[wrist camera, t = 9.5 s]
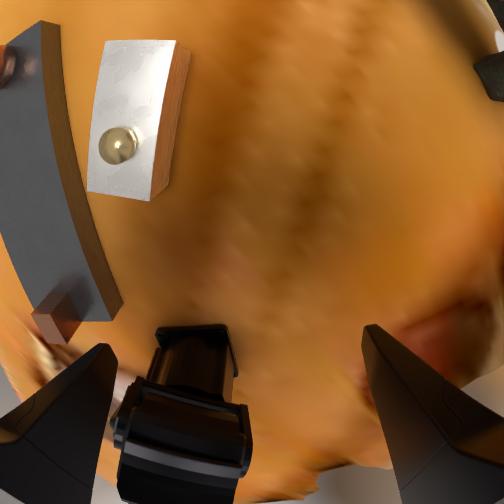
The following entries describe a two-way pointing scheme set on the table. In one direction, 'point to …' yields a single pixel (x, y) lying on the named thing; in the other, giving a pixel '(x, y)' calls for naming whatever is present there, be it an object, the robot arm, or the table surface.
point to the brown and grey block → (136, 117)
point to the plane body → (47, 192)
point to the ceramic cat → (494, 60)
